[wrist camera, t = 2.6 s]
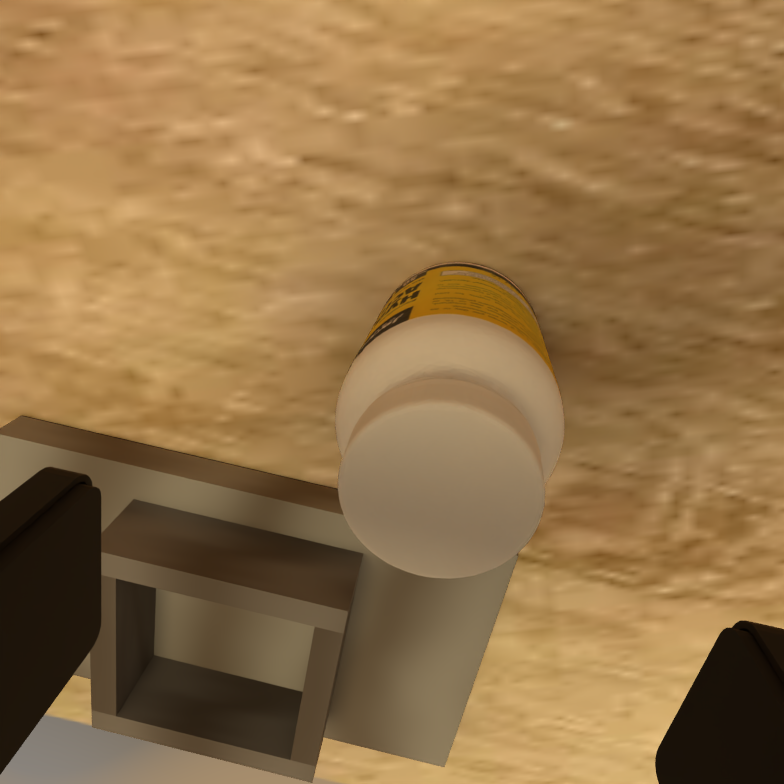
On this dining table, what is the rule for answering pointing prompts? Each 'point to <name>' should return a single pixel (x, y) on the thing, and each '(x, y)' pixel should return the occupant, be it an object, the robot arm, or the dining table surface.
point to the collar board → (258, 612)
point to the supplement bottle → (449, 425)
